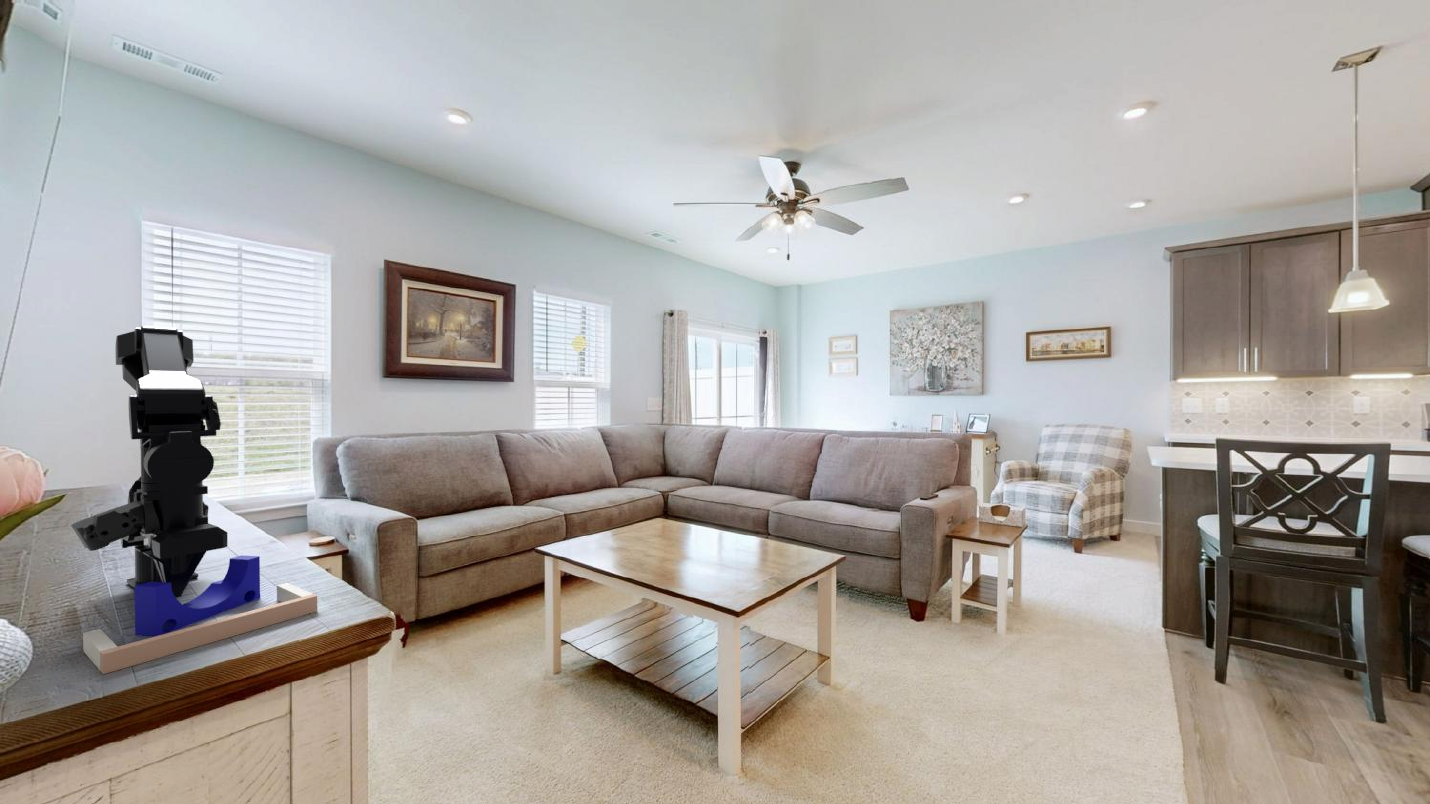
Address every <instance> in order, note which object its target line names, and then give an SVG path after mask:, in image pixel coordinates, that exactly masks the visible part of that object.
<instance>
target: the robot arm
mask: <svg viewBox="0 0 1430 804" xmlns="http://www.w3.org/2000/svg"><path fill="white" fill-rule="evenodd" d="M193 342H194V341H193V339H192V338H190V337H188V336H185V335H184V333H183V329H177V327H162V326H149V325H141V326H140V327H139V326H137V327H134V330H133V331H129V332H126V333H122V334H119V335H116V339H115V365H117V366H122V368H121V369H122V379H123V380H124V381H125V383H127V385H129V386H130V387H131V388H132V389H133V390H135V394H134V393H133V394H132V393H131V394H129V395H128V420H129V432H130V439H131V440H139V441H140V442H139V443H140V444H139V445H140V447H139V448H140V476H139V478H138V479H137V480H135V481H134V483H132V486H131V487H130V488H129V490H128V498H127V504H123V505H120V506H116V507H114V508H112V509H108V510H106V511H104V512H103V511H102V512H100V513H97V514H94V515H92V516H89V517H86V518H84V519H81V520H79V521H76V522H74V523H73V524H71V525H70V526H71V528H72V529H73V531H74V533H75V534H76V536H77V537H78V539H79V540H80V541H81V543H82V545H83V547H84V548H85V549H87V550H88V551H91V552H92V551H97V550H100V549H103V548H105V547H108V546H109V545H110V544H111V543H114V542H116V541H118V540H120V545H121V548H122V549H126V548H132V547H134V577H132V578H127V579H126V584H128V585H129V586H131V587H133V588H134V589H135V586H136V585H140V584H143V583H147V582H165V583H171V588H172V592H173V594H174V596H175V598H176V599H178V598H180V597H182V595H183V593H184V591H185V590H186V587H187V586H188V585H189V582H190V580H194V579H197V578H199V573H197V572H196V570H197V568H198V567H199V564H200V563H201V561H202V560H203V558H204V556H205V555H206V553H207V552H209V551H214V550H221V549H225V548H227V547H228V545H229V544H228V532H227V531H226V530H224V529H222V528H220V527H219V526H217V525H214V524H212V523H209V505H208V504H206V503H205V501H204V500H203V499H204V498H203V495H208V493H209V490H208V485H203V481H204V480H205V479H207V478H208V476H209V475H211V473H212V471H213V470H214V465H215V460H214V456H213V454H212V452H211V451H210V450H209V449H208V448H207V447H206V446H204V445H202V441H201V437H216V436H217V431H220V430H221V426H222V425H221V424H222V423H221V419H220V418H221V417H220V414H219V408H218V403H217V402H216V401H215V400H214V399H213V398H214V397H213V395H212V394H210V393H209V394H208V393H207V394H206V389H205V387H204V385H203V382H202V380H199V379H198V378H195V377H193V376H191V375H189V374H188V370H187V369H188V368H191V367H192V365H193V363H194V361H195V360H194V343H193ZM204 421H205V423H204Z"/></svg>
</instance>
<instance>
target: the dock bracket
mask: <svg viewBox="0 0 1430 804" xmlns="http://www.w3.org/2000/svg"><path fill="white" fill-rule="evenodd" d="M276 601H278V603H275V604H272V605H271V604H270V605H267V606H264V607H259V608H256V609H253V610H252V609H251V610H248V611H245V612H241V613H237V614H233V615H231V616H226V617H223V618H219V619H215V620H212V621H208V622H204V623H200V624H197V625H193V626H190V627H186V628H185V627H184V628H183V629H182V628H180V629H177V630H175V631H172V632H169V633H166V634H163V635H159V636H155V637H149V638H144V639H142V640H136V641H133V642H130V643H126V644H122V645H119V646H118V645H117V644H115V642H114V641H113V640H112V639H111V638H110V637H109V636H108V635H107V634H106V633H104V631H102V630H101V629H100V628H97V629H93V630H90V631H85V632H83V633H82V639H83V640H82V641H83V644H82V645H83V647H82V648H83V649H82V651H83V652H84V654H85V655H86V656H87V657H88V658H89V660H90V661H91V662H92V663H93V664H94V666H95V667H97V668H98V670H99V671H100V672H101V673H102V674H103V675H106V674H109V673H112V672H115V671H119V670H122V669H126V668H130V667H133V666H136V665H139V664H143V663H147V662H151V661H153V660H157V659H160V658H164V657H167V656H170V655H174V654H177V653H180V652H184V651H187V650H191V649H194V648H197V647H201V646H204V645H209V644H211V643H214V642H217V641H221V640H225V639H228V638H231V637H235V636H238V635H242V634H245V633H249V632H251V631H255V630H258V629H261V628H265V627H269V626H272V625H276V624H278V623H281V622H286V621H289V620H293V619H296V618H299V617H302V616H306V615H310V614H312V613H316V612H318V595H316V594H314V593H312V592H310V591H307V590H305V589H303V588H300V587H298V586H296V585H293V584H291V583H289V582H286V583H281V584H277V585H276ZM279 602H280V603H279ZM309 613H310V614H309Z"/></svg>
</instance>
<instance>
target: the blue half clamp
mask: <svg viewBox="0 0 1430 804" xmlns="http://www.w3.org/2000/svg"><path fill="white" fill-rule="evenodd" d="M260 559H261V558H260V556H258V555H243V554H241V555H238V556H234V557H231V558H229V560H228V561H229V562H228V568H227V571H226V574H225V576H224V578H223V579H221V580H217V581H214V582H211V583H210V584H209V586H208V587H206V589H204V591H203V592H202V593H200V594H199V595H198V596H196V597H194V598H193V599H191V600H189V601H187V602H185V603H181V602H180V601H179V600H178V598H175V596H174V594H173V592H172V588H171V583H165V582H147V583H143V584H140V585H136V586H135V588H134V625H135V626H134V630H135V631H134V633H135V634H134V635H135V637H137V636H138V637H149V638H152V637H155V636H159V635H163V634H166V633H170V632H174V631H178V630H181V629H182V628H183V629H184V628H185V627H187V626H190V625H193V624H196V623H199V622H201V621H204V620H206V619H209V618H212V617H214V616H217V615H219V614H222V613H225V612H227V611H230V610H233V609H236V608H238V607H241V606H243V605H246V604H249V603H252V602H255V601H257V600H260V599H261V578H260V577H261V571H260V569H261V568H260V567H261V564H260V563H261V562H260Z"/></svg>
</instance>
